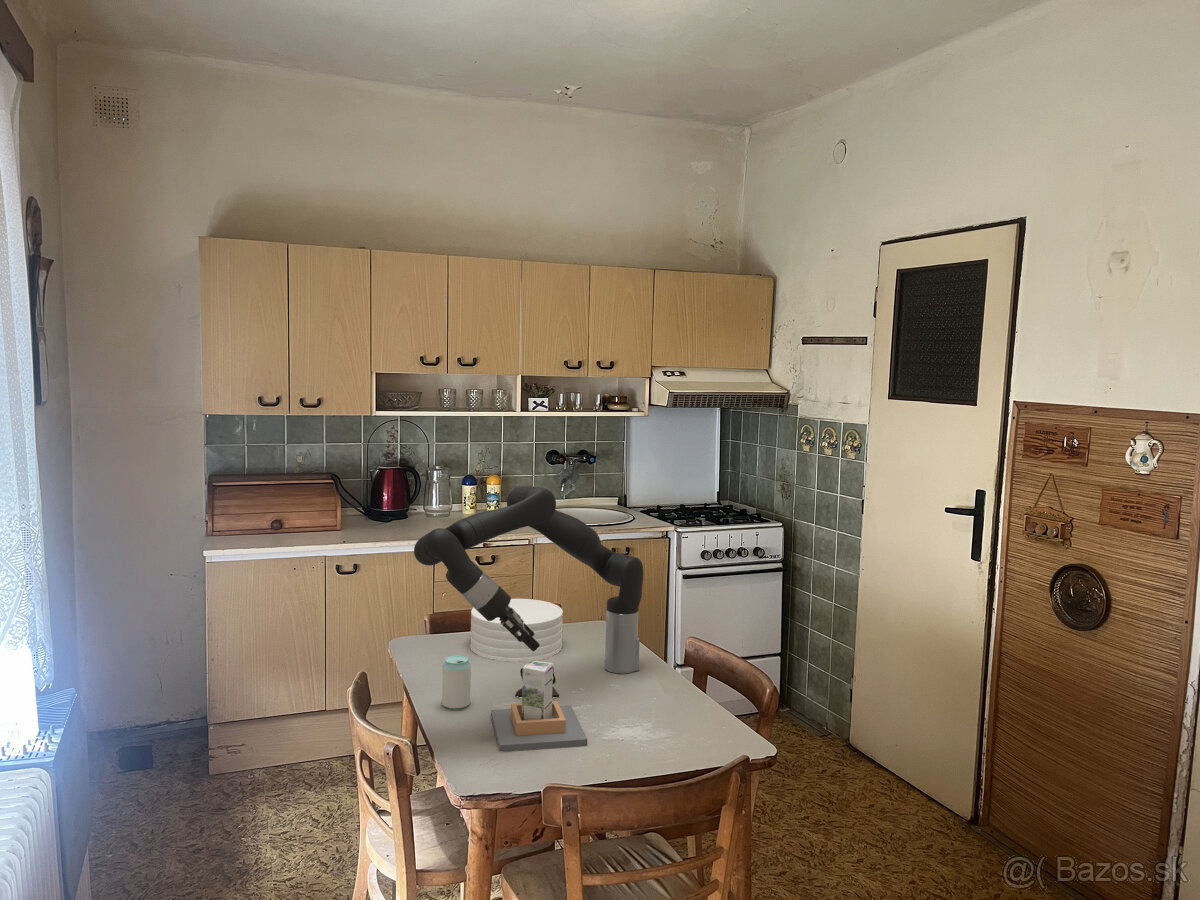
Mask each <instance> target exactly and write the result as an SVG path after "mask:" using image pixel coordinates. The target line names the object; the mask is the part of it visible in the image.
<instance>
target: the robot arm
mask: <svg viewBox="0 0 1200 900" xmlns="http://www.w3.org/2000/svg"><path fill="white" fill-rule="evenodd" d="M556 508H557V501H556V497H555V495H554V494H553V492H551V491H550V489H547V488H545V487H540V486H530V485H529V486H528V485H525V486H523V485H521V486H517V487H515V488H513V489H512V490H511V491H510V492H509V494H507V498H506V506H504V507H500V508H494V509H490V510H484V511H481V512H477V513H475V514H471V515H468V516H467V517H464V518H461V519H460V520H458V521H455V522H453V523H452V524H451V525H449V526H447V527H445V528H442V527H438V528H434V529H432V530H431V531H429V532H427V533H426V534H424V535H423V536H422V537H420V538H419V539H418V540H417V541H416V542H415V544H414V547H413V555H414V557H415V559H416V560H417V562H419V564H421V565H425V566H430V567H431V566H436V565H437V564H438V565H439V563H441V562H442V563H443V565H444V566H445V567H446V569H447V570H446V574H445V578H446V580H447V582H448V583H450V585H451V586H452V587H453V588H454V589H455V590H457V592H459V594H461V595H462V596H463V598H464V600H466V601H467V603H468V604H470V606H472V608H475V609H476V610H477V611H478V612H479V613H480V614H481V615H482V616H483V617H484V618H485V619H486V620H488V621H492V620H494V619H495V618H498V617H499V618H500V619H499V620H500V621H501V624H502V625H503V627H505V628H506V629H507V630H508V631H509V632H510V633H511V634H512V635H513V636H514V637H515V638H517V639H518V641H519V642H523V643H525V644H526V645H527V646H528V647H529V648H530V649H531V650H532V651H535V650H536V649H537V648H538V647H539V646H540V645H539V643H538V642H537V641H536V640H535V639H534V638H533V636H534V632H533V631H532V630H531V629H530V628H529V627H528V626H527V625H526V624H525V623H524V621H523V620H522V619H521V617H520V615H519V614H517V613H516V612H515V610H514V609H513V608H510V607H509V606H508V605H509V603H510V601H511V599H512V597H511V596H510V595H509V594H508V593H507V592H506V591H505V590H504V589H503V588H502V587H501V586H500V585H499V584H498V583H497V582H496V581H495V580H494V579H493V578H492V577H491V576H490V575H488V574H487V573H485V572H484V571H483V570H482V569H481V568H480V567H479V566H478V565H477V564H476V562H474V561H472V560H471V558H470V556H469V554H468V553H467V551H466V550H469V549H471V548H473V547H476V546H479V545H481V544H483V543H485V542H487V541H490V540H492V539H495V538H496V537H499V536H502V535H505V534H507V533H510V532H512V531H517V530H519V529H522V528H525V527H529V528H531V529H532V530H535V531H537V532H539V533H540V534H541V535H543V536H544V537H545V538H547V539H548V540H549V541H550V542H551V543H553V544H554V545H556V546H557V547H559V548H560V549H561V550H563V551H564V552H566V553H567V554H568V555H570V556H571V557H573V558H574V559H577V560H578V561H579V562H581V563H582V564H584V565H586V566H588V567H589V568H591V569H592V570H593V571H594V572H595V573H596V574H597V575H599V576H600V578H601V579H602V580H604V581H605V582H606V583H608V584H610V585H611V586H616V587H619V590H618V591H619V593H618V596H617V595H616V596H612V597H609V598H608V599H607V600H606V611H605V612H606V613H605V614H606V617H605V642H604V643H605V645H604V646H605V649H604V669H605V670H606V671H608V672H609V673H613V674H614V673H615V674H630V673H633V672H638V671H639V669H640V667H639V666H640V665H639V664H640V644H641V643H640V637H639V633H638V632H639V609H640V604H641V601H642V595H643V583H644V565H643V563H642V560H641V559H640V558H638V557H636V556H632V555H628V554H624V553H619V552H615V551H613V550H611V549H610V548H608V547H606V546H604V545H603V544H602V542H601V538H600V536H599V534H598V533H597V532H596V531H595V530H594V529H593V528H592V527H590V526H589V525H588V524H587V523H585V522H583V520H580V519H579V518H577V517H574V516H572V515H570V514H568V513H564V512H562V511H560V510H556ZM518 632H520V633H521V635H520V636H519V635H518Z"/></svg>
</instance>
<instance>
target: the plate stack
mask: <svg viewBox="0 0 1200 900" xmlns="http://www.w3.org/2000/svg"><path fill="white" fill-rule="evenodd" d="M508 606H509V607H510V608H513V609H514V610H515V612H516V613H517V614H519V615H520V617H521V619H522V620H523V621H524V623H525V624H526V625H527V626H528V627H529V628H530V629H531V630H532V631H533V632H534V636H533V638H534V639H535V640H536V641H537V642H538V643H539V645H540V646H539V647H538V648H537V649H536V650H535V651H532V650H531V649H530V648H529V647H528V646H527V645H526V644H525V643H523V642H519V641H518V639H517V638H515V637H514V636H513V635H512V634H511V633H510V632H509V631H508V630H507V629H506V628H505V627H503V625H502V624H501V621H500V620H499V619H500V618H499V617H498V618H495V619H494V620H492V621H488V620H486V619H485V618H484V617H483V616H482V615H481V614H480V613H479V612H478V611H477V610H476V609H475V608H474V607H472V609H471V610H470V612H471V613H470V616H471V618H470V650H471V649H472V650H471V651H474V652H475V653H476V654H478V655H480V656H483V657H487V658H490V659H489V660H491V659H495V660H494V661H496V660H502V661H501V662H504V661H527V662H530V661H531V660H536V661H540V660H539V659H541V660H544V659H543V658H545V659H548V658H547V657H549V656H551V657H553V656H552V655H554V654H556V653H557V654H559V653H560V652H561V651H560V650H562V649H561V648H563V644H562V641H563V616H564V615H563V612H564V611H563V609H562V608H561V606H559V605H556V604H554V603H553V602H549V601H545V600H539V599H532V598H531V599H530V598H511V601H510V603H509V605H508ZM518 635H519V636H520V635H521V633H520V632H518ZM559 651H560V652H559ZM558 652H559V653H558ZM475 653H474V654H475ZM476 654H475V655H476ZM557 654H556V655H557ZM478 655H477V656H478ZM480 656H479V657H480ZM554 656H555V655H554ZM483 657H482V658H483ZM549 658H550V657H549Z"/></svg>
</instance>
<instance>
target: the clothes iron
mask: <svg viewBox="0 0 1200 900" xmlns="http://www.w3.org/2000/svg"><path fill="white" fill-rule="evenodd" d="M553 671H554V668H553ZM519 673H520V677H521V678H520V679H521V682H523V667H521V668H520V672H519ZM556 681H557V680H556V676H555V673H554V672H553V684H552V699H554V698H553V697H557V698H559V697H560V694H559V692H558V691H557V690H556V689H555V687H554V685H555V683H556ZM514 696H515V697H516V696H518V697H517V698H520V697H522V688H519V689H518V690H517V691H516V692H515V695H514Z"/></svg>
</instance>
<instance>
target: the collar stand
mask: <svg viewBox="0 0 1200 900" xmlns="http://www.w3.org/2000/svg"><path fill="white" fill-rule="evenodd" d="M491 717H492V718H491ZM490 718H491V722H492V726H493V731H494V730H495V731H494V734H496V735H495V738H496V739H495V740H496V742H497V746H498V747H497V748H498V750H499V751H504V752H516V751H515V750H518V751H529V750H531V749H532V750H541V749H543V750H544V748H546V749H556V748H557V747H559V748H560V749H561V748H571V747H573V748H574V747H585V746H588V738H587V736H586V733H585V731H584V729H583V728H582V727H583V726H582V724H581V723H580V721H579V719H578V717H577V715H576V713H575V710H574V708H573V707H572V705H571V704H570V705H569V704H568V705H560V704H559V702H558V700H555V701H553V700H552V719H540V720H525V721H522V702H521V703H510V708H502V709H500V708H499V709H491V710H490ZM559 748H557V749H559Z"/></svg>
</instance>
